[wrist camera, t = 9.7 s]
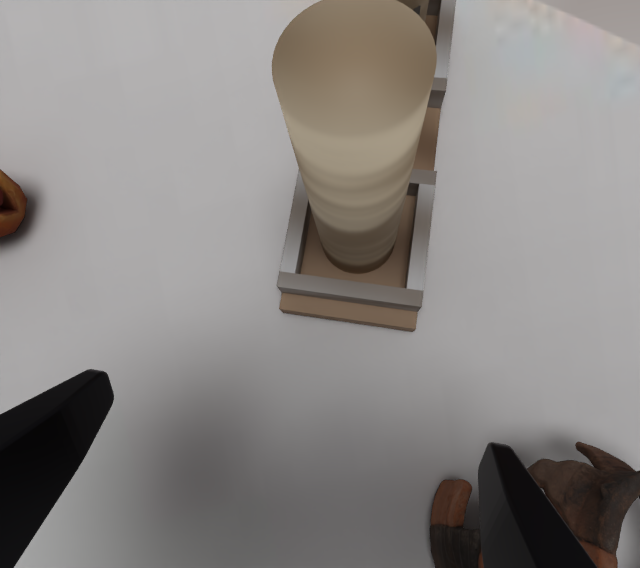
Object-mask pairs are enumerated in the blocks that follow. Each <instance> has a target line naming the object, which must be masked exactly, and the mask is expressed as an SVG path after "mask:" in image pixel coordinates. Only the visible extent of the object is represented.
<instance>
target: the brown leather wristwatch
mask: <svg viewBox="0 0 640 568" xmlns="http://www.w3.org/2000/svg"><path fill="white" fill-rule="evenodd" d="M575 446H576V449H577V450H578V451H579V452H581V453H582V454H583V455H585V456H586V457H587V458H588V459H589V460H590V462H591V463H592V465H593V466H594V467H592V466H590V465H588V464H586V463H581V462H578V461H574V460H566V461H560V462H555V461H552V460H549V459H541V460H538V461H537V462H536V463H534V464H533V465H532V466H530V467H529V468H528V469H527V470H528V472H529V473H530V474H531V476H532V477H533V478H534V480H535V481H536V483H537V484H538V485H539V487H540V488H542V489H543V490H544V492H545V495H546V496H547V498H548V499H549V500H550V502H551V503H552V505H553V506H554V508H555V509H556V510H557V512H558V513H559V514H560V516H561V517H562V519H563V520H564V521H565V523H566V524H567V526H568V527H569V528H570V530H571V531H572V532H573V534H574V535H575V537H576V538H577V539H578V541H579V542H580V544H581V545H582V546H583V548H584V549H585V550H586V552H587V553H588V555H589V556H590V557H591V559H592V560H593V562H594V563H595V564H596V566H597V567H598V568H617V564H618V562H617V557H616V550H617V548H618V542H619V538H620V532H621V526H622V522H623V519H624V517H625V514H626V513H627V511H628V509H629V508H630V506H631V505H632V503H633V501H634V500H636V498H638V496H639V498H640V471H637V472H636V471H635V470H634V469H632V468H631V467H630V466H629V465H627V464H626V463H625V462H623V461H621V460H619V459H618V458H616V457H614V456H612V455H610V454H609V453H607V452H604V451H603V450H600V449H598V448H596V447H593V446H590V445H587V444H584V443H581V442H577V443H576V444H575ZM471 491H472V486H471V484H470V483H469V482H467V481H465V480H461V479H458V480H455V481H453V480H444V481H443V482H441V484H440V486H439V488H438V490H437V493H436V495H435V499H434V503H433V506H432V514H431V526H430V541H431V552H432V556H433V560H434V563H435V567H436V568H484V566H483V559H482V551H481V536H480V529H464V528H463V524H464V517H465V512H466V506H467V503H468V500H469V497H470V494H471Z"/></svg>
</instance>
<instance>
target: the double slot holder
mask: <svg viewBox="0 0 640 568" xmlns="http://www.w3.org/2000/svg"><path fill="white" fill-rule="evenodd" d="M455 4H456V0H429V3H428V9H427V14H426V20H425V23H426V25H427V27H428V28H429V30H430V32H431V34H432V36H433V39H434V42H435V46H436V53H437V64H436V70H435V75H434V79H433V84H432V88H431V92H430V96H429V101H428V105H427V109H426V113H425V118H424V122H423V126H422V130H421V135H420V139H419V143H418V147H417V152H416V156H415V160H414V164H413V169H412V173H411V177H410V181H409V186H408V190H407V194H406V199H405V203H404V207H403V211H402V216H401V220H400V224H399V228H398V233H397V237H396V241H395V245H394V249H393V252H392V254H391V256H390V257H389V259H388V260H387V261H386V262H385V263H384V264H383V265H382V266H381V267H379V268H378V269H376V270H374V271H371V272H368V273H363V274H352V273H348V272H345V271H342V270H340V269H338V268H337V267H335V266H334V265H333V264H332V263H331V262H330V261H329V260H328V258H327V257H326V255H325V253H324V251H323V247H322V244H321V241H320V237H319V234H318V230H317V227H316V224H315V220H314V217H313V214H312V210H311V207H310V203H309V200H308V197H307V193H306V190H305V187H304V183H303V180H302V176H301V173H300V170H299V171H298V177H297V182H296V187H295V192H294V198H293V203H292V208H291V214H290V219H289V224H288V229H287V235H286V240H285V245H284V251H283V256H282V261H281V266H280V272H279V277H278V282H277V287H278V288H279V290H280V291H281V292H282V296H281V302H280V307H279V309H280V310H281V311H282V312H283V313H290V314H296V315H303V316H310V317H317V318H323V319H330V320H337V321H343V322H350V323H357V324H364V325H370V326H377V327H384V328H391V329H397V330H404V331H411V332H413V331H414V330H415V329H416V320H417V312H418V311H419V309H420V308H421V307H422V298H423V289H424V280H425V271H426V263H427V254H428V245H429V236H430V227H431V218H432V209H433V200H434V191H435V182H436V173H437V171H434V163H435V154H436V145H437V136H438V128H439V119H440V110H441V106H442V102H443V99H444V95H445V92H446V84H447V75H448V67H449V58H450V49H451V40H452V31H453V22H454V13H455Z"/></svg>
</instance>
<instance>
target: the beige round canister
mask: <svg viewBox="0 0 640 568" xmlns="http://www.w3.org/2000/svg"><path fill="white" fill-rule="evenodd" d="M436 64H437V53H436V46H435V42H434V39H433V36H432V34H431V32H430V30H429V28H428V27H427V25H426V23H425V22H424V21H423V20H422V19H421V17H420V16H419V15H418V14H417V13H415V12H414V11H413V10H412V9H411V8H409V7H408V6H406V5H405V4H403V3H401V2H399V1H397V0H322V1H320V2H317V3H315V4H313V5H312V6H310V7H308V8H307V9H305V10H304V11H303V12H301V13H300V14H299V15H297V16H296V17H295V18H294V19H293V20H292V21H291V22H290V24H289V25H288V26H287V27H286V28H285V30H284V31H283V33H282V35H281V36H280V38H279V40H278V42H277V44H276V47H275V50H274V54H273V60H272V75H273V82H274V85H275V88H276V92H277V95H278V99H279V102H280V105H281V109H282V112H283V115H284V119H285V122H286V126H287V129H288V132H289V136H290V139H291V143H292V146H293V149H294V153H295V156H296V159H297V163H298V166H299V170H300V173H301V176H302V180H303V183H304V187H305V190H306V193H307V197H308V200H309V203H310V207H311V210H312V214H313V217H314V220H315V224H316V227H317V230H318V234H319V237H320V241H321V244H322V247H323V251H324V253H325V255H326V257H327V258H328V260H329V261H330V262H331V263H332V264H333V265H334V266H335V267H337V268H338V269H340V270H342V271H345V272H348V273H352V274H363V273H368V272H371V271H374V270H376V269H378V268H379V267H381V266H382V265H383V264H384V263H385V262H386V261H387V260H388V259H389V257H390V256H391V254H392V252H393V249H394V245H395V241H396V237H397V233H398V228H399V224H400V220H401V216H402V211H403V207H404V203H405V199H406V194H407V190H408V186H409V181H410V177H411V173H412V169H413V164H414V160H415V156H416V152H417V147H418V143H419V139H420V135H421V130H422V126H423V122H424V118H425V113H426V109H427V105H428V101H429V96H430V92H431V88H432V84H433V79H434V75H435V70H436Z"/></svg>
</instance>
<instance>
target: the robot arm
mask: <svg viewBox="0 0 640 568" xmlns="http://www.w3.org/2000/svg"><path fill="white" fill-rule="evenodd" d="M113 400H114V393H113V390H112V387H111V383H110V380H109V377H108V374H107V373H106V372H104V371H99V370H94V369H89V370H86V371H84V372H82V373H80V374H78V375H76V376H74V377H72V378H70V379H68V380H66V381H64V382H63V383H61V384H59V385H57V386H55V387H53V388H51V389H49V390H47V391H45V392H43V393H41V394H39V395H37V396H35V397H33V398H31V399H30V400H28V401H26V402H24V403H22V404H20V405H18V406H16V407H14V408H12V409H10V410H8V411H6V412H4V413H2V414H0V568H14V566H15V565H16V563H17V562H18V560H19V559H20V557H21V555H22V554H23V552H24V551H25V549H26V548H27V546H28V545H29V543H30V542H31V540H32V539H33V537H34V535H35V534H36V532H37V531H38V529H39V528H40V526H41V525H42V523H43V522H44V520H45V519H46V517H47V516H48V514H49V512H50V511H51V509H52V508H53V506H54V505H55V503H56V502H57V500H58V499H59V497H60V496H61V494H62V492H63V491H64V489H65V488H66V486H67V485H68V483H69V482H70V480H71V479H72V477H73V476H74V474H75V472H76V471H77V469H78V468H79V466H80V464H81V463H82V461H83V459H84V458H85V456H86V454H87V452H88V450H89V448H90V446H91V444H92V443H93V441H94V439H95V437H96V435H97V433H98V431H99V429H100V427H101V425H102V423H103V421H104V420H105V418H106V416H107V414H108V412H109V410H110V408H111V406H112V404H113ZM478 486H479V511H480V536H481V551H482V559H483V566H484V568H598V567H597V566H596V564H595V563H594V562H593V560H592V559H591V557H590V556H589V555H588V553H587V552H586V550H585V549H584V548H583V546H582V545H581V544H580V542H579V541H578V539H577V538H576V537H575V535H574V534H573V532H572V531H571V530H570V528H569V527H568V526H567V524H566V523H565V521H564V520H563V519H562V517H561V516H560V514H559V513H558V512H557V510H556V509H555V508H554V506H553V505H552V503H551V502H550V501H549V499H548V498H547V496H546V495H545V494H544V492H543V491H542V490H541V488H540V487H539V485H538V484H537V483H536V481H535V480H534V478H533V477H532V476H531V474H530V473H529V472H528V470H527V469H526V467H525V466H524V465H523V463H522V462H521V460H520V459H519V458H518V456H517V455H516V454H515V452H514V451H513V449H512V448H511V447H509V446H508V445H504V444H499V443H493V442H491V443H489V444H488V445H487V448H486V450H485V452H484V455H483V457H482V460H481V462H480V465H479V470H478Z"/></svg>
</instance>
